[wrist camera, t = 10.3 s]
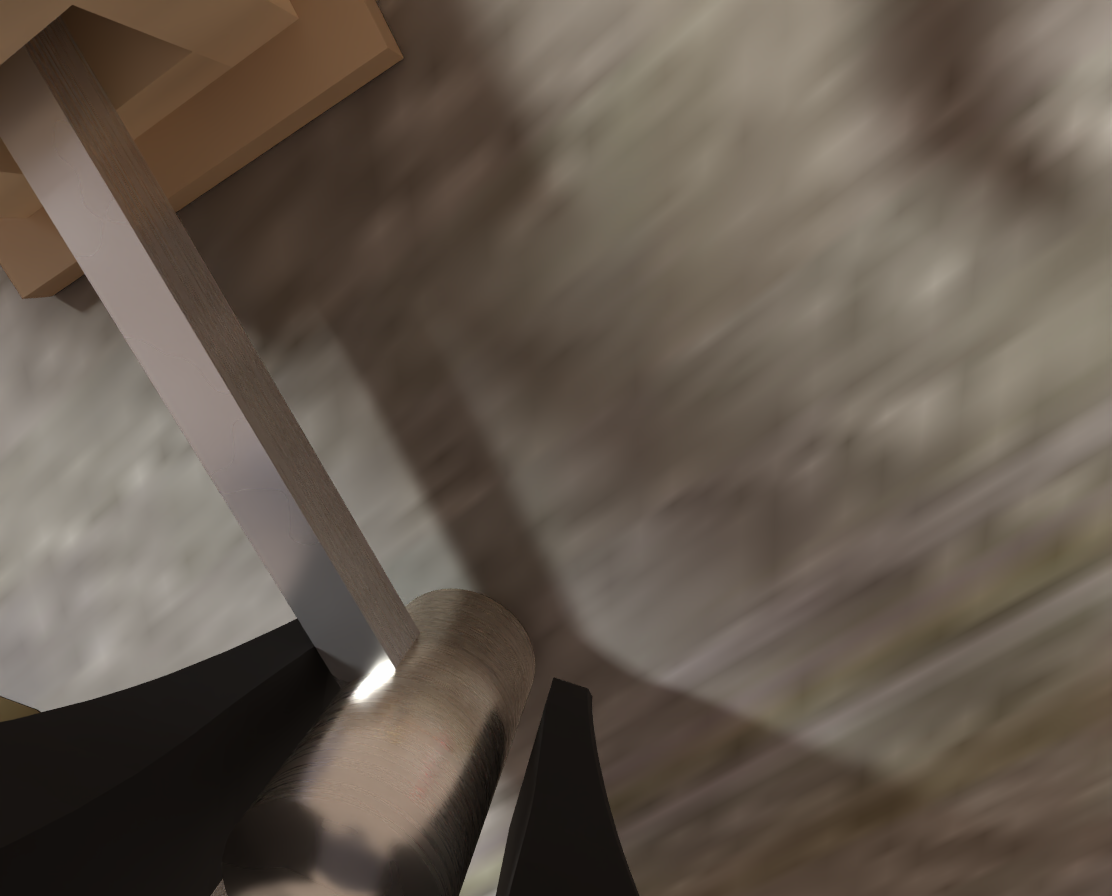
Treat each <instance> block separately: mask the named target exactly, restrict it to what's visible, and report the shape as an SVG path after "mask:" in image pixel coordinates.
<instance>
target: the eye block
mask: <svg viewBox="0 0 1112 896" xmlns="http://www.w3.org/2000/svg"><path fill="white" fill-rule="evenodd" d="M58 16H61V17H62V19H63V21H64V22H65V24H66V26H67V28H68V29H69V31H70V33H71V34H72V36H73V38H74V40H75V41H76V43H77V45H78V46H79V48H80V50H81V52H82V53H83V55H84V57H85V58H86V60H87V62H88V64H89V65H90V67H91V69H92V70H93V72H94V74H95V76H96V77H97V79H98V81H99V82H100V84H101V86H102V88H103V89H104V91H105V93H106V94H107V96H108V98H109V100H110V101H111V103H112V105H113V106H114V108H115V110H116V112H117V113H118V115H119V117H120V119H121V120H122V122H123V124H124V125H125V127H126V129H127V131H128V132H129V134H130V136H131V137H132V139H133V141H134V143H135V144H136V146H137V148H138V149H139V151H140V153H141V155H142V156H143V158H144V160H145V161H146V163H147V165H148V167H149V168H150V170H151V172H152V173H153V175H154V177H155V179H156V180H157V182H158V184H159V185H160V187H161V189H162V191H163V192H164V194H165V196H166V197H167V199H168V201H169V203H170V204H171V206H172V208H173V209H174V211H175V213H176V212H177V211H179V210H180V209H182V208H183V207H185V206H186V205H188V204H189V203H191V202H192V201H193V200H195V199H196V198H198V197H199V196H201V195H202V194H204V193H205V192H207V191H208V190H210V189H211V188H213V187H214V186H216V185H217V184H219V183H220V182H222V181H223V180H225V179H226V178H227V177H229V176H230V175H232V174H233V173H235V172H236V171H238V170H239V169H241V168H242V167H244V166H245V165H247V164H248V163H250V162H251V161H253V160H254V159H256V158H257V157H259V156H260V155H261V154H263V153H264V152H266V151H267V150H269V149H270V148H272V147H273V146H275V145H276V144H278V143H279V142H281V141H282V140H284V139H285V138H287V137H288V136H290V135H291V134H293V133H294V132H295V131H297V130H298V129H300V128H301V127H303V126H304V125H306V124H307V123H309V122H310V121H312V120H313V119H315V118H316V117H318V116H319V115H321V114H322V113H324V112H325V111H327V110H328V109H329V108H331V107H332V106H334V105H335V104H337V103H338V102H340V101H341V100H343V99H344V98H346V97H347V96H349V95H350V94H352V93H353V92H355V91H356V90H358V89H359V88H361V87H362V86H363V85H365V84H366V83H368V82H369V81H371V80H372V79H374V78H375V77H377V76H378V75H380V74H381V73H383V72H384V71H386V70H387V69H389V68H390V67H392V66H393V65H395V64H396V63H397V62H399V61H400V60H402V59H403V58H404V57H403V55H402V53H401V51H400V49H399V47H398V45H397V43H396V41H395V39H394V37H393V35H392V33H391V31H390V29H389V27H388V25H387V23H386V21H385V19H384V17H383V15H382V13H381V11H380V9H379V7H378V5H377V3H376V1H375V0H0V65H1V64H2V63H4V62H5V61H6V60H7V59H8V58H10V57H11V56H12V55H13V54H14V53H16V52H17V51H18V50H19V49H20V48H22V47H23V46H24V45H25V44H26V43H27V42H29V41H30V40H31V39H32V38H33V37H35V36H36V35H37V34H38V33H39V32H41V31H42V30H43V29H44V28H45V27H46V26H48V25H49V24H50V23H51V22H52V21H54V20H55V19H56V18H57V17H58ZM0 265H1V266H2V268H3V269H4V271H5V272H6V274H7V275H8V277H9V279H10V280H11V282H12V283H13V285H14V286H15V288H16V290H17V291H18V293H19V294H20V296H21V297H22V299H26V298H38V297H50V296H53V295H55V294H56V293H57V292H59V291H60V290H62V289H63V288H65V287H66V286H68V285H69V284H71V283H72V282H74V281H75V280H77V279H78V278H80V277H81V276H83V275H84V274H85V273H84V272H83V270H82V269H81V267H80V265H79V264H78V262H77V260H76V259H75V257H74V256H73V254H72V252H71V251H70V249H69V247H68V246H67V244H66V243H65V241H64V239H63V238H62V236H61V235H60V233H59V231H58V230H57V228H56V226H55V225H54V223H53V222H52V220H51V218H50V217H49V215H48V213H47V212H46V210H45V209H44V207H43V205H42V204H41V202H40V200H39V199H38V197H37V196H36V194H35V192H34V191H33V189H32V188H31V186H30V184H29V183H28V181H27V179H26V178H25V176H24V175H23V173H22V171H21V170H20V168H19V166H18V165H17V163H16V162H15V160H14V158H13V157H12V155H11V154H10V152H9V150H8V149H7V147H6V145H5V144H4V142H3V141H2V139H1V137H0Z"/></svg>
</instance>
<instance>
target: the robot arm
mask: <svg viewBox="0 0 1112 896" xmlns="http://www.w3.org/2000/svg"><path fill="white" fill-rule="evenodd" d="M340 690H341V688H340V687H339V685H338V683H337V682H336V680H335V678H334V677H333V675H332V674H331V672H330V670H329V669H328V667H327V665H326V664H325V662H324V661H323V659H322V657H321V656H320V654H319V652H318V651H317V649H316V648H315V646H314V644H313V643H312V641H311V640H310V638H309V636H308V635H307V633H306V631H305V630H304V628H303V627H302V625H301V623H300V622H299V620H298V618H297V619H295V620H293V621H291V622H289V623H287V624H285V625H283V626H281V627H279V628H276V629H274V630H272V631H270V632H268V633H266V634H264V635H261V636H259V637H257V638H255V639H253V640H250V641H248V642H246V643H244V644H242V645H239V646H237V647H235V648H233V649H230V650H228V651H226V652H223V653H221V654H218V655H216V656H213V657H211V658H208V659H206V660H204V661H201V662H199V663H196V664H194V665H191V666H189V667H186V668H184V669H181V670H179V671H176V672H174V673H171V674H169V675H166V676H163V677H160V678H158V679H155V680H152V681H149V682H146V683H143V684H140V685H137V686H134V687H131V688H128V689H125V690H122V691H118V692H115V693H112V694H109V695H106V696H102V697H99V698H96V699H92V700H89V701H85V702H81V703H77V704H73V705H69V706H65V707H61V708H57V709H53V710H49V711H45V712H41V713H37V714H33V715H29V716H25V717H21V718H17V719H13V720H8V721H3V722H0V896H210V895H211V894H212V893H213V891H214V890H215V888H216V887H217V886H218V884H219V883H220V881H221V880H222V879H223V875H222V858H223V851H224V848H225V844H226V841H227V839H228V837H229V835H230V833H231V831H232V830H233V829H234V827H235V826H236V825H237V823H238V822H239V821H240V820H241V818H242V817H243V816H244V814H245V813H246V812H247V811H248V809H249V808H250V807H251V805H252V804H253V803H254V801H255V800H256V799H257V798H258V796H259V795H260V794H261V792H262V791H263V790H264V789H265V787H266V786H267V785H268V783H269V782H270V781H271V779H272V778H273V777H274V776H275V774H276V773H277V772H278V770H279V769H280V768H281V767H282V765H283V764H284V763H285V761H286V760H287V759H288V757H289V756H290V755H291V754H292V752H293V751H294V750H295V748H296V747H297V746H298V745H299V743H300V742H301V741H302V739H303V738H304V737H305V735H306V734H307V733H308V732H309V730H310V729H311V728H312V726H313V725H314V724H315V723H316V721H317V720H318V719H319V717H320V716H321V715H322V713H323V712H324V711H325V710H326V708H327V707H328V706H329V704H330V703H331V702H332V701H333V699H334V698H335V697H336V695H337V694H338V693H339V691H340ZM496 896H639V894H638V891H637V888H636V886H635V883H634V880H633V878H632V875H631V872H630V870H629V867H628V864H627V861H626V859H625V856H624V853H623V850H622V847H621V843H620V840H619V837H618V834H617V831H616V827H615V824H614V820H613V817H612V813H611V810H610V806H609V802H608V798H607V794H606V790H605V786H604V781H603V777H602V772H601V768H600V763H599V758H598V753H597V747H596V740H595V733H594V725H593V715H592V695H591V693H590V692H589V690H588V689H587V688H584V687H581V686H578V685H575V684H572V683H569V682H566V681H563V680H560V679H557V678H553V681H552V685H551V688H550V691H549V694H548V698H547V701H546V704H545V708H544V711H543V715H542V718H541V721H540V725H539V728H538V732H537V735H536V739H535V742H534V745H533V749H532V752H531V756H530V759H529V762H528V766H527V769H526V773H525V776H524V780H523V783H522V786H521V790H520V793H519V797H518V800H517V804H516V807H515V810H514V814H513V817H512V821H511V824H510V828H509V833H508V838H507V843H506V848H505V853H504V858H503V862H502V867H501V872H500V877H499V882H498V888H497V893H496Z"/></svg>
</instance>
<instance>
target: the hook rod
mask: <svg viewBox="0 0 1112 896" xmlns="http://www.w3.org/2000/svg"><path fill="white" fill-rule="evenodd" d="M0 137H1V139H2V141H3V142H4V144H5V145H6V147H7V149H8V150H9V152H10V154H11V155H12V157H13V158H14V160H15V162H16V163H17V165H18V166H19V168H20V170H21V171H22V173H23V175H24V176H25V178H26V179H27V181H28V183H29V184H30V186H31V188H32V189H33V191H34V192H35V194H36V196H37V197H38V199H39V200H40V202H41V204H42V205H43V207H44V209H45V210H46V212H47V213H48V215H49V217H50V218H51V220H52V222H53V223H54V225H55V226H56V228H57V230H58V231H59V233H60V235H61V236H62V238H63V239H64V241H65V243H66V244H67V246H68V247H69V249H70V251H71V252H72V254H73V256H74V257H75V259H76V260H77V262H78V264H79V265H80V267H81V269H82V270H83V272H84V273H85V275H86V277H87V278H88V280H89V282H90V283H91V285H92V286H93V288H94V290H95V291H96V293H97V294H98V296H99V298H100V299H101V301H102V303H103V304H104V306H105V307H106V309H107V311H108V312H109V314H110V316H111V317H112V319H113V320H114V322H115V324H116V325H117V327H118V328H119V330H120V332H121V333H122V335H123V337H124V338H125V340H126V341H127V343H128V345H129V346H130V348H131V350H132V351H133V353H134V354H135V356H136V358H137V359H138V361H139V363H140V364H141V366H142V367H143V369H144V371H145V372H146V374H147V375H148V377H149V379H150V380H151V382H152V384H153V385H154V387H155V388H156V390H157V392H158V393H159V395H160V397H161V398H162V400H163V401H164V403H165V405H166V406H167V408H168V409H169V411H170V413H171V414H172V416H173V418H174V419H175V421H176V422H177V424H178V426H179V427H180V429H181V431H182V432H183V434H184V435H185V437H186V439H187V440H188V442H189V444H190V445H191V447H192V448H193V450H194V452H195V453H196V455H197V456H198V458H199V460H200V461H201V463H202V465H203V466H204V468H205V469H206V471H207V473H208V474H209V476H210V478H211V479H212V481H213V482H214V484H215V486H216V487H217V489H218V490H219V492H220V494H221V495H222V497H223V499H224V500H225V502H226V503H227V505H228V507H229V508H230V510H231V512H232V513H233V515H234V516H235V518H236V520H237V521H238V523H239V525H240V526H241V528H242V529H243V531H244V533H245V534H246V536H247V537H248V539H249V541H250V542H251V544H252V546H253V547H254V549H255V550H256V552H257V554H258V555H259V557H260V559H261V560H262V562H263V563H264V565H265V567H266V568H267V570H268V571H269V573H270V575H271V576H272V578H273V580H274V581H275V583H276V584H277V586H278V588H279V589H280V591H281V593H282V594H283V596H284V597H285V599H286V601H287V602H288V604H289V606H290V607H291V609H292V610H293V612H294V614H295V615H296V617H297V618H298V620H299V622H300V623H301V625H302V627H303V628H304V630H305V631H306V633H307V635H308V636H309V638H310V640H311V641H312V643H313V644H314V646H315V648H316V649H317V651H318V652H319V654H320V656H321V657H322V659H323V661H324V662H325V664H326V665H327V667H328V669H329V670H330V672H331V674H332V675H333V677H334V678H335V680H336V682H337V683H338V685H339V687H340V688H341V690H340V691H339V693H338V694H337V695H336V697H335V698H334V699H333V701H332V702H331V703H330V704H329V706H328V707H327V708H326V710H325V711H324V712H323V713H322V715H321V716H320V717H319V719H318V720H317V721H316V723H315V724H314V725H313V726H312V728H311V729H310V730H309V732H308V733H307V734H306V735H305V737H304V738H303V739H302V741H301V742H300V743H299V745H298V746H297V747H296V748H295V750H294V751H293V752H292V754H291V755H290V756H289V757H288V759H287V760H286V761H285V763H284V764H283V765H282V767H281V768H280V769H279V770H278V772H277V773H276V774H275V776H274V777H273V778H272V779H271V781H270V782H269V783H268V785H267V786H266V787H265V789H264V790H263V791H262V792H261V794H260V795H259V796H258V798H257V799H256V800H255V801H254V803H253V804H252V805H251V807H250V808H249V809H248V811H247V812H246V813H245V814H244V816H243V817H242V818H241V820H240V821H239V822H238V823H237V825H236V826H235V827H234V829H233V830H232V831H231V833H230V835H229V837H228V839H227V841H226V844H225V848H224V851H223V858H222V875H223V880H224V885H225V889H226V892H227V895H228V896H459V893H460V891H461V888H462V885H463V882H464V879H465V876H466V873H467V870H468V868H469V865H470V862H471V859H472V856H473V853H474V850H475V847H476V844H477V842H478V839H479V836H480V833H481V830H482V827H483V824H484V821H485V819H486V816H487V813H488V810H489V807H490V804H491V801H492V798H493V796H494V793H495V790H496V787H497V784H498V781H499V778H500V775H501V773H502V770H503V767H504V764H505V761H506V758H507V755H508V752H509V750H510V747H511V744H512V741H513V738H514V735H515V732H516V729H517V727H518V724H519V721H520V718H521V715H522V712H523V709H524V706H525V704H526V701H527V698H528V695H529V692H530V689H531V686H532V683H533V680H534V675H535V656H534V650H533V647H532V644H531V641H530V639H529V637H528V635H527V633H526V631H525V629H524V628H523V626H522V625H521V624H520V622H519V621H518V620H517V619H516V617H515V616H514V615H513V614H512V613H510V612H509V611H508V610H507V609H506V608H505V607H503V606H502V605H501V604H499V603H498V602H496V601H494V600H493V599H491V598H489V597H486V596H484V595H482V594H479V593H476V592H473V591H468V590H463V589H441V590H435V591H431V592H428V593H425V594H423V595H421V596H419V597H417V598H416V599H414V600H413V601H411V602H410V603H409V604H408V605H407V606H406V607H405V606H404V604H403V602H402V601H401V599H400V597H399V596H398V594H397V592H396V590H395V589H394V587H393V585H392V584H391V582H390V580H389V578H388V577H387V575H386V573H385V572H384V570H383V568H382V566H381V565H380V563H379V561H378V560H377V558H376V556H375V554H374V553H373V551H372V549H371V548H370V546H369V544H368V542H367V541H366V539H365V537H364V536H363V534H362V532H361V530H360V529H359V527H358V525H357V524H356V522H355V520H354V518H353V517H352V515H351V513H350V511H349V510H348V508H347V506H346V505H345V503H344V501H343V499H342V498H341V496H340V494H339V493H338V491H337V489H336V487H335V486H334V484H333V482H332V481H331V479H330V477H329V475H328V474H327V472H326V470H325V469H324V467H323V465H322V463H321V462H320V460H319V458H318V457H317V455H316V453H315V451H314V450H313V448H312V446H311V445H310V443H309V441H308V439H307V438H306V436H305V434H304V433H303V431H302V429H301V427H300V426H299V424H298V422H297V421H296V419H295V417H294V415H293V414H292V412H291V410H290V409H289V407H288V405H287V403H286V402H285V400H284V398H283V397H282V395H281V393H280V391H279V390H278V388H277V386H276V384H275V383H274V381H273V379H272V378H271V376H270V374H269V372H268V371H267V369H266V367H265V366H264V364H263V362H262V360H261V359H260V357H259V355H258V354H257V352H256V350H255V348H254V347H253V345H252V343H251V342H250V340H249V338H248V336H247V335H246V333H245V331H244V330H243V328H242V326H241V324H240V323H239V321H238V319H237V318H236V316H235V314H234V312H233V311H232V309H231V307H230V306H229V304H228V302H227V300H226V299H225V297H224V295H223V294H222V292H221V290H220V288H219V287H218V285H217V283H216V282H215V280H214V278H213V276H212V275H211V273H210V271H209V270H208V268H207V266H206V264H205V263H204V261H203V259H202V258H201V256H200V254H199V252H198V251H197V249H196V247H195V245H194V244H193V242H192V240H191V239H190V237H189V235H188V233H187V232H186V230H185V228H184V227H183V225H182V223H181V221H180V220H179V218H178V216H177V215H176V213H175V211H174V209H173V208H172V206H171V204H170V203H169V201H168V199H167V197H166V196H165V194H164V192H163V191H162V189H161V187H160V185H159V184H158V182H157V180H156V179H155V177H154V175H153V173H152V172H151V170H150V168H149V167H148V165H147V163H146V161H145V160H144V158H143V156H142V155H141V153H140V151H139V149H138V148H137V146H136V144H135V143H134V141H133V139H132V137H131V136H130V134H129V132H128V131H127V129H126V127H125V125H124V124H123V122H122V120H121V119H120V117H119V115H118V113H117V112H116V110H115V108H114V106H113V105H112V103H111V101H110V100H109V98H108V96H107V94H106V93H105V91H104V89H103V88H102V86H101V84H100V82H99V81H98V79H97V77H96V76H95V74H94V72H93V70H92V69H91V67H90V65H89V64H88V62H87V60H86V58H85V57H84V55H83V53H82V52H81V50H80V48H79V46H78V45H77V43H76V41H75V40H74V38H73V36H72V34H71V33H70V31H69V29H68V28H67V26H66V24H65V22H64V21H63V19H62V17H61V16H58V17H57V18H56V19H55V20H54V21H52V22H51V23H50V24H49V25H48V26H46V27H45V28H44V29H43V30H42V31H41V32H39V33H38V34H37V35H36V36H35V37H33V38H32V39H31V40H30V41H29V42H27V43H26V44H25V45H24V46H23V47H22V48H20V49H19V50H18V51H17V52H16V53H14V54H13V55H12V56H11V57H10V58H8V59H7V60H6V61H5V62H4V63H2V64H1V65H0Z"/></svg>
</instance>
